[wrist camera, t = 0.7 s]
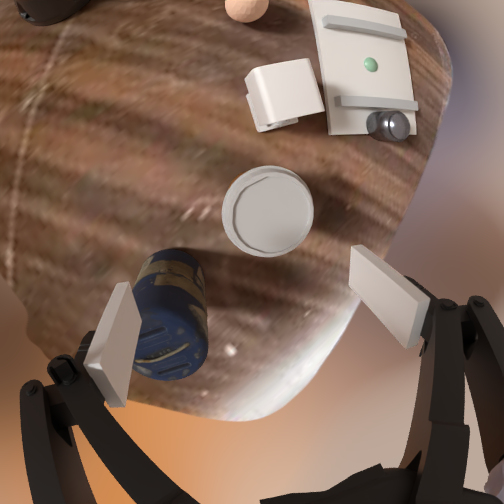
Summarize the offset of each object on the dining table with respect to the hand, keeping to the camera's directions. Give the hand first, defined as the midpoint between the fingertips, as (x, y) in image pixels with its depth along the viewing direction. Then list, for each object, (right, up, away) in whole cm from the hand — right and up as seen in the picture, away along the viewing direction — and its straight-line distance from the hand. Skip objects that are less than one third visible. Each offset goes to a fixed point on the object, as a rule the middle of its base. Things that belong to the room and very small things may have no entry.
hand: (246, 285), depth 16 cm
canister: (-11, -2, +25) cm, 28 cm away
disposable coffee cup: (0, +10, +23) cm, 25 cm away
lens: (+19, +21, +21) cm, 35 cm away
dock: (+18, +30, +18) cm, 39 cm away
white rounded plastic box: (+3, +21, +18) cm, 28 cm away
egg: (-1, +34, +13) cm, 36 cm away
